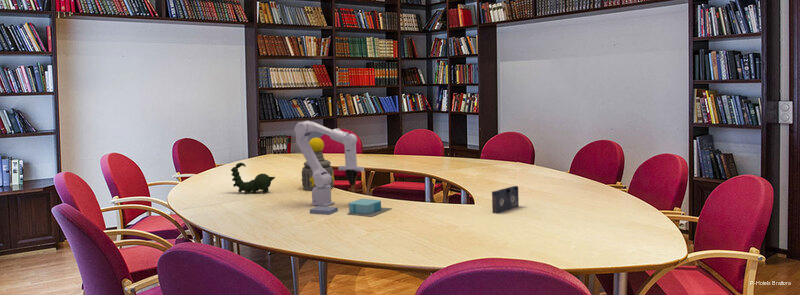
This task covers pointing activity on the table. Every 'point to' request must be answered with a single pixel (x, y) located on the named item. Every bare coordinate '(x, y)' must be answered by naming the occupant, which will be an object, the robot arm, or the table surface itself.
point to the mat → (372, 213)
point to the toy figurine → (254, 185)
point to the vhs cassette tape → (505, 199)
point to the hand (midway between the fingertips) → (352, 184)
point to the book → (323, 210)
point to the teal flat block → (365, 206)
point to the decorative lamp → (317, 148)
